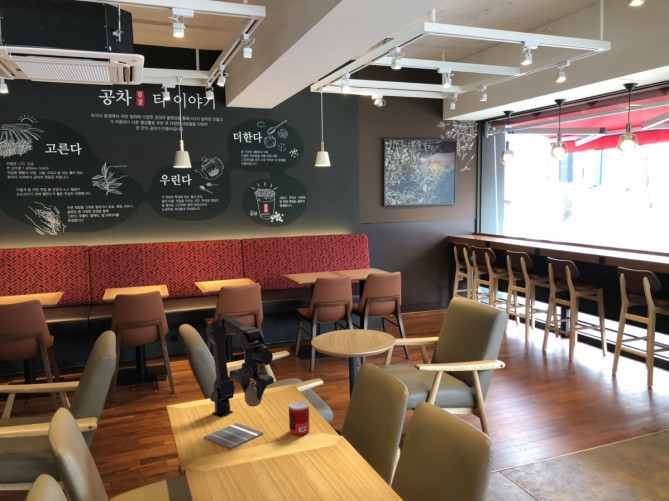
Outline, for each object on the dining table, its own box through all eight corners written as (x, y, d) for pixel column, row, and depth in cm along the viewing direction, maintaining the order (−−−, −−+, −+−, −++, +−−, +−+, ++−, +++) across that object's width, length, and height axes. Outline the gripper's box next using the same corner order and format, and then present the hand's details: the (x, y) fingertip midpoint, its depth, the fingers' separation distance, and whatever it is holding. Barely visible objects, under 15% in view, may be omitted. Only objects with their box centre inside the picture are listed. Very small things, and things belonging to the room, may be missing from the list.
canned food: (312, 429, 208) (312, 402, 207) (303, 437, 201) (302, 409, 200) (296, 426, 211) (295, 399, 211) (286, 434, 204) (285, 406, 203)
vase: (264, 401, 213) (262, 380, 212) (260, 407, 206) (258, 385, 205) (247, 402, 213) (246, 381, 213) (243, 408, 206) (241, 386, 206)
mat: (204, 438, 203) (204, 436, 203) (236, 424, 215) (236, 422, 215) (231, 449, 193) (231, 447, 192) (263, 434, 205) (263, 432, 205)
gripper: (220, 361, 207) (221, 399, 209) (253, 369, 196) (254, 409, 197) (241, 354, 216) (242, 391, 218) (274, 361, 205) (275, 400, 206)
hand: (253, 398), depth 209 cm, fingers closed on vase, 7 cm apart
